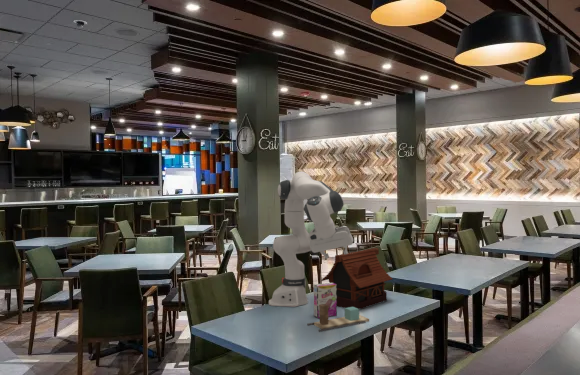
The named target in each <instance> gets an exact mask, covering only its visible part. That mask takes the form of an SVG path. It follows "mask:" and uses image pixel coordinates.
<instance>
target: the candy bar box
mask: <svg viewBox="0 0 580 375" xmlns="http://www.w3.org/2000/svg"><path fill="white" fill-rule="evenodd" d="M321 304H326V305H328V318H330V317H337V315H338V314H337V313H338V310H337V308H338V306H337V284H334V283H330V282H326V283H325V282H324V283H314V284H313V316H314V317H315V318H316V319H320V311H319V305H321Z"/></svg>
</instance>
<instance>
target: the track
mask: <svg viewBox="0 0 580 375" xmlns="http://www.w3.org/2000/svg"><path fill="white" fill-rule="evenodd" d="M334 319H336V318H334ZM314 322H315V321H314ZM314 322H309V323H307V325H306V326H308V327H309V326H313V325H314ZM362 324H367V322H366V321H361V322H356V323H351V324H346V325H340V326H335V327H330V328H325V329H321V328H319V329H318V332H319V333H320V332H326V331H330V330H337V329H342V328H346V327H353V326H357V325H362ZM314 326H315V325H314Z"/></svg>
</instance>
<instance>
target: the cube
mask: <svg viewBox="0 0 580 375" xmlns="http://www.w3.org/2000/svg"><path fill="white" fill-rule="evenodd" d="M359 315H360V309H358V308H355V307H348V308H344V317H345V319H348V320H350V321H353V320H358V319H359Z"/></svg>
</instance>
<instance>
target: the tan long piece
mask: <svg viewBox="0 0 580 375" xmlns="http://www.w3.org/2000/svg"><path fill="white" fill-rule="evenodd" d="M319 311H320V318H319V321H314V326H315V327H317V328H319V329H325V328H330V327H335V326H340V325H346V324H351V323H356V322H361V321H366V323H367V322H368V323H369V322H370V318H368V317H366V316H363V315H361V314H359V319H358V320H353V321H350V320H348V319H345V316H343V317H337V318H336V319H335V318H331V319H329V317H328V305H326V304H321V305H319Z"/></svg>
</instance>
